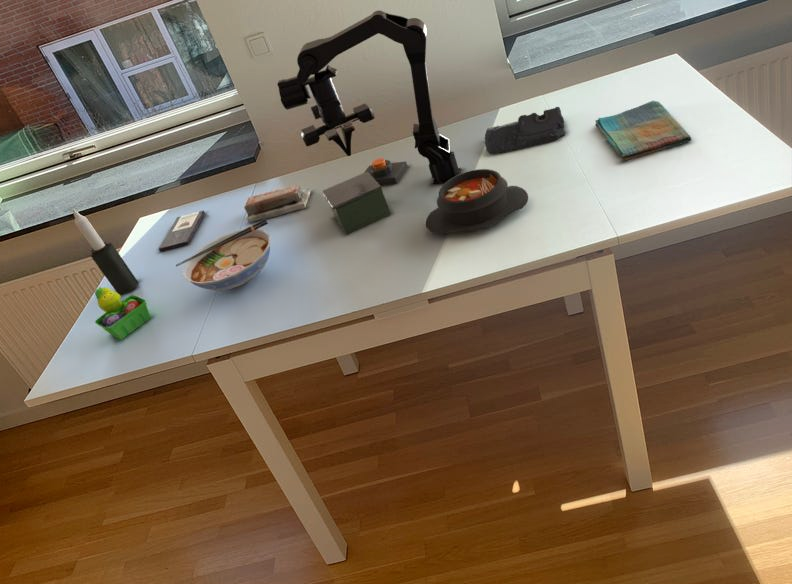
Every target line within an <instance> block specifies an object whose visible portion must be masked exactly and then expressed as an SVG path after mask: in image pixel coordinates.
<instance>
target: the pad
mask: <svg viewBox="0 0 792 584" xmlns="http://www.w3.org/2000/svg"><path fill="white" fill-rule="evenodd" d="M384 160H385V163H386V166H385V167H384V168H382V169H379V170H374V168H373V165H372V164H370V165H368V166H367V168H366V169H365V170H364V172H363V173H365V172H368V173H369V174H370V175H371V176H372V177H373V178H374V180H375V181H376V182H377V183H378V184H379V185H380V186H382V185H383V186H385V185H393V184H397V183H399V181H400V180H401V178H402V176H403V175H404V174H405V172H406V171H407V170H408V168H409V165H408V163H407V161H398V162H391V160H389V159H384Z"/></svg>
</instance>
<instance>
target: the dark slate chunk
mask: <svg viewBox="0 0 792 584" xmlns="http://www.w3.org/2000/svg"><path fill="white" fill-rule="evenodd" d="M565 135H566V130H565V119H564V117H563V115H562V110H561V108H560V106H556V107H554V108H550V109H544V110H543V114H538V113H536V112H532V113H530V114H528V115H527V114H523V115H520V116H518V118H517V120H516V121H513V122H510V123H506V124H502V125H496V126H492V127H488V128H487V129H486V131H485V134H484V145H485V150H486V152H487V153H488V154H489V155H493V154H504V153H508V152H513V151H514V152H515V151H518V150H523V149H527V148H531V147H535V146H538V145H539V146H540V145H543V144H549V143H551V142H555V141H557V140H559V139H560V137H564V136H565Z"/></svg>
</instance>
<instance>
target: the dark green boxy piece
mask: <svg viewBox="0 0 792 584" xmlns="http://www.w3.org/2000/svg"><path fill="white" fill-rule="evenodd" d="M328 204H329V203H328ZM329 207H330V209H331V211H332V215H333V216H334V218H335V220H336V222H337V223H338V224H339V226H340V228H341V229H342V230H343V232H344V233H345V235H349V234H351V233H353V232H355V231H358V230H360V229H362V228H364V227H366V226H368V225H371V224H372V223H373V224H374V223H375V222H377V221H380V220H381V219H383V218H387V217H389V216H390V215H391V214H392V213H391V211H390V207H389V205H388V203H387V199H386V197H385V194H384V191H383V189H382V188H381V189H380V190H378V191H375V192H373V193H371V194H368V195H366V196H364V197H361V198H359V199H357V200H355V201H352V202H350V203H348V204H345V205H343V206H341V207H338V208H336V209H334V210H333V209H332V207H331V206H330V204H329Z"/></svg>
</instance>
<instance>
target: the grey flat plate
mask: <svg viewBox="0 0 792 584" xmlns="http://www.w3.org/2000/svg"><path fill="white" fill-rule="evenodd" d="M364 172H365V171H364ZM364 172H362V173H360V174H357V175H356V176H353V177H351V178H349V179H346V180H344V181H342V182H340V183H337V184H334V185H332V186H330V187H328V188H325V189H323V190H321V194H322V196H323V197H324V198H325V199H324V200H326V201H327V203H328V204H330V205H329V207H330V206H331V207H332V209H333V210H334V209H336V208H338V207H341V206H343V205H345V204H348V203H350V202H352V201H355V200H357V199H359V198H361V197H364V196H366V195H368V194H371V193H373V192H375V191H378V190H380V189H382V185H379V184H378V183H377V182H376V181H375V180H374V178H373V177H372V176H371V175H370V174H369V173H368V172H365V173H364ZM331 207H330V208H331ZM332 209H331V210H332Z"/></svg>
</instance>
